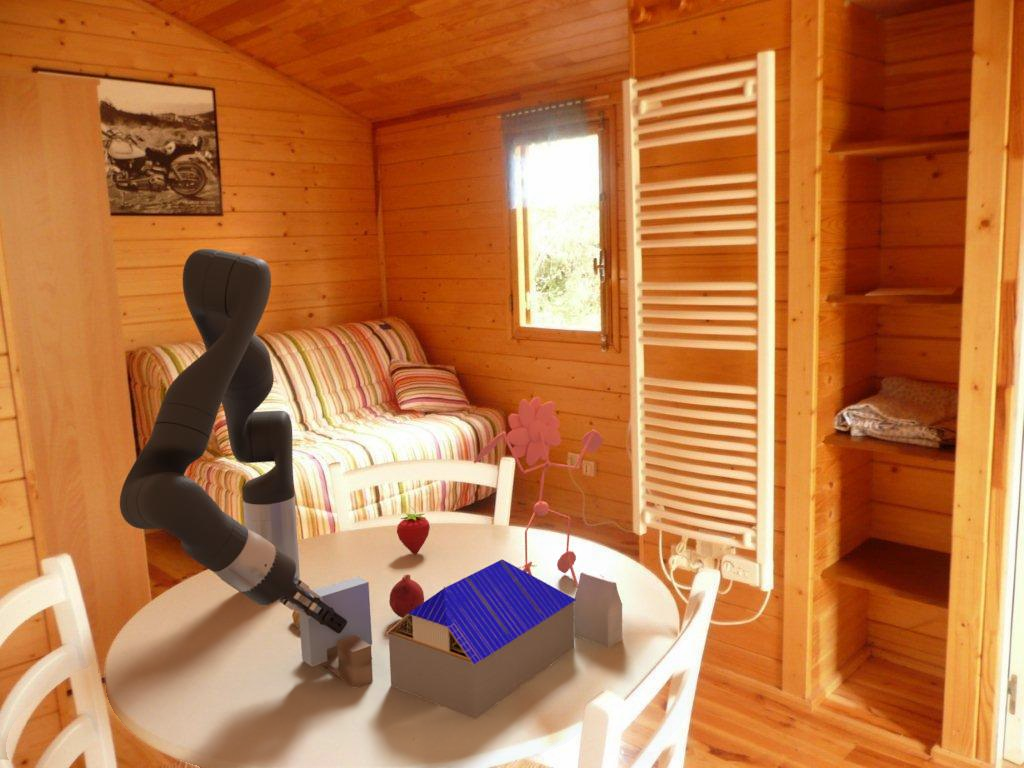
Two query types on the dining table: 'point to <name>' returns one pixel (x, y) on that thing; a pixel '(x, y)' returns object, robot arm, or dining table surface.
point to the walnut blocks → (351, 661)
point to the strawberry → (413, 531)
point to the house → (481, 639)
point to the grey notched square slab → (347, 603)
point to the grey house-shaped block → (597, 611)
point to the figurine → (540, 456)
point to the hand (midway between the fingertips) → (337, 623)
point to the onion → (406, 596)
